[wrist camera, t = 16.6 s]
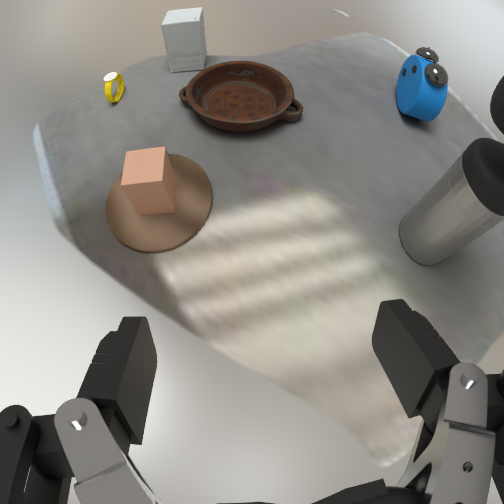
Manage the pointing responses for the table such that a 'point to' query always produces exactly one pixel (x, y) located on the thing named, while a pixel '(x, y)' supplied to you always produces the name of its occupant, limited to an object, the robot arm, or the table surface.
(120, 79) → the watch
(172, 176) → the salmon pink block
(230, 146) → the table surface
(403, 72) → the alarm clock
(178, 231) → the post stand
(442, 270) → the table surface
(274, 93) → the dish
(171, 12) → the supplement box
